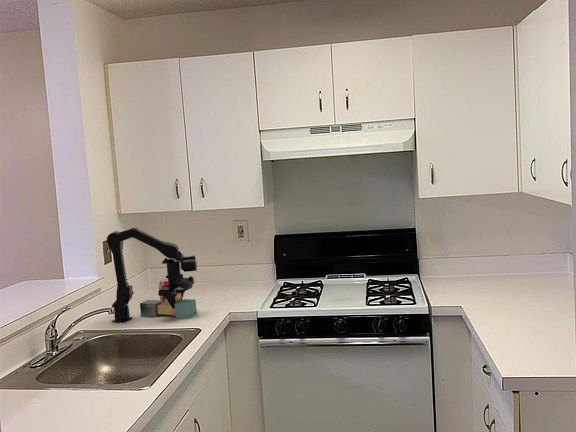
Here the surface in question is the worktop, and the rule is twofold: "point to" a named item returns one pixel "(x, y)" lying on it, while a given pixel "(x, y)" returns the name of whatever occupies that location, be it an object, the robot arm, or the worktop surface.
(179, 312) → the socket block
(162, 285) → the soda can
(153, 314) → the sleeve
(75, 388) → the worktop surface
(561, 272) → the worktop surface
